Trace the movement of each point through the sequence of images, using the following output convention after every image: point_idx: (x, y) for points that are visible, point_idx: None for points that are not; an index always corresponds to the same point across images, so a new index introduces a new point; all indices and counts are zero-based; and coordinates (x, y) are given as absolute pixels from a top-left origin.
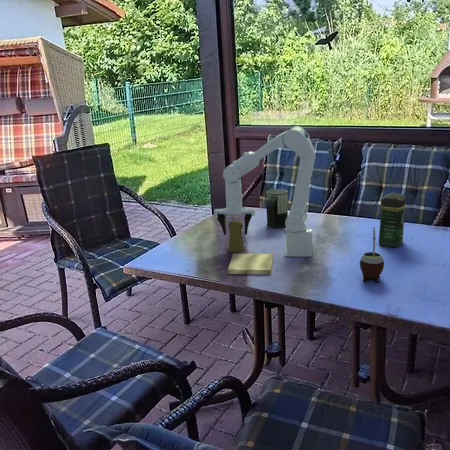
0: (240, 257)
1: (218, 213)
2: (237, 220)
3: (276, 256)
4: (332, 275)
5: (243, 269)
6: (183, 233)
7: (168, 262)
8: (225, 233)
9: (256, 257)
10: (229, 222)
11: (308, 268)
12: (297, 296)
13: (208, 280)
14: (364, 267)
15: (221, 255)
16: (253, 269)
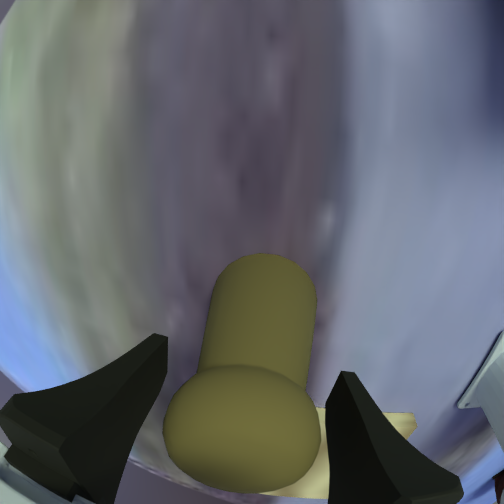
0: None
1: (21, 484)
2: (267, 452)
3: (431, 400)
4: (472, 472)
5: (270, 494)
6: (5, 24)
7: (21, 352)
8: (163, 382)
9: None
10: (170, 455)
11: (457, 458)
12: None
13: (172, 480)
14: (497, 501)
15: (180, 359)
16: (301, 496)
